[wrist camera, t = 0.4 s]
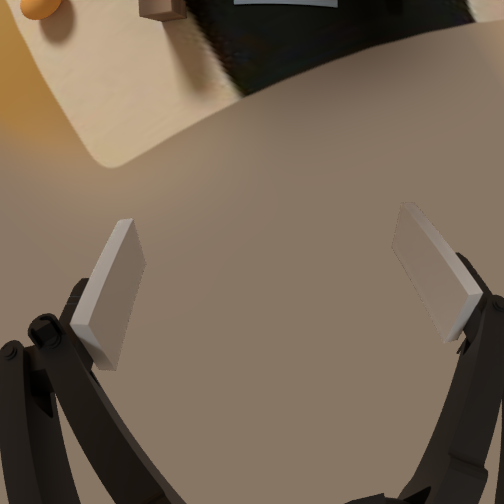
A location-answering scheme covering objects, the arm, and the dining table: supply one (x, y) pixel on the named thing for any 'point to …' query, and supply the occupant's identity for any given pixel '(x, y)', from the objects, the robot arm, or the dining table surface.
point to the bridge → (162, 9)
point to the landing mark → (290, 2)
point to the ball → (38, 8)
